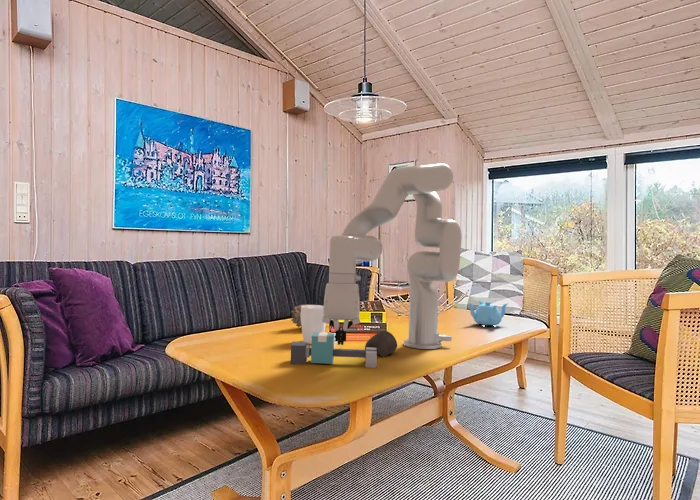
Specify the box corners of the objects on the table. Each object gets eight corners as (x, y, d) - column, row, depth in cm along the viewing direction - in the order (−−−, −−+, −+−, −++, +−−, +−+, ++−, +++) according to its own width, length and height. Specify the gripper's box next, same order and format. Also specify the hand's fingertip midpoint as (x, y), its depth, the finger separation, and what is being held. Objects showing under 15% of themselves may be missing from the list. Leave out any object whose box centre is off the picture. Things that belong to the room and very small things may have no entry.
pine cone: (301, 333, 173) (301, 306, 172) (285, 329, 179) (285, 303, 179) (343, 326, 188) (344, 301, 188) (327, 323, 195) (328, 299, 195)
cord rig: (376, 361, 136) (376, 343, 136) (376, 367, 130) (376, 349, 129) (293, 358, 137) (294, 340, 137) (289, 364, 130) (290, 346, 130)
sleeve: (333, 358, 136) (334, 332, 136) (332, 363, 131) (333, 336, 131) (313, 358, 136) (313, 332, 136) (310, 362, 131) (311, 335, 131)
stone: (364, 368, 143) (382, 350, 138) (356, 344, 148) (373, 325, 143) (389, 368, 149) (407, 351, 143) (380, 345, 154) (397, 327, 148)
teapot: (466, 325, 197) (466, 301, 197) (479, 321, 207) (480, 298, 207) (495, 330, 189) (496, 305, 189) (508, 325, 199) (508, 301, 199)
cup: (322, 345, 154) (323, 309, 154) (296, 343, 156) (297, 307, 156) (329, 339, 163) (330, 305, 163) (304, 338, 165) (305, 304, 165)
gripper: (368, 278, 136) (367, 341, 137) (317, 277, 137) (315, 340, 137) (368, 281, 129) (367, 347, 129) (314, 279, 129) (312, 346, 130)
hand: (340, 343), depth 133 cm, fingers closed
